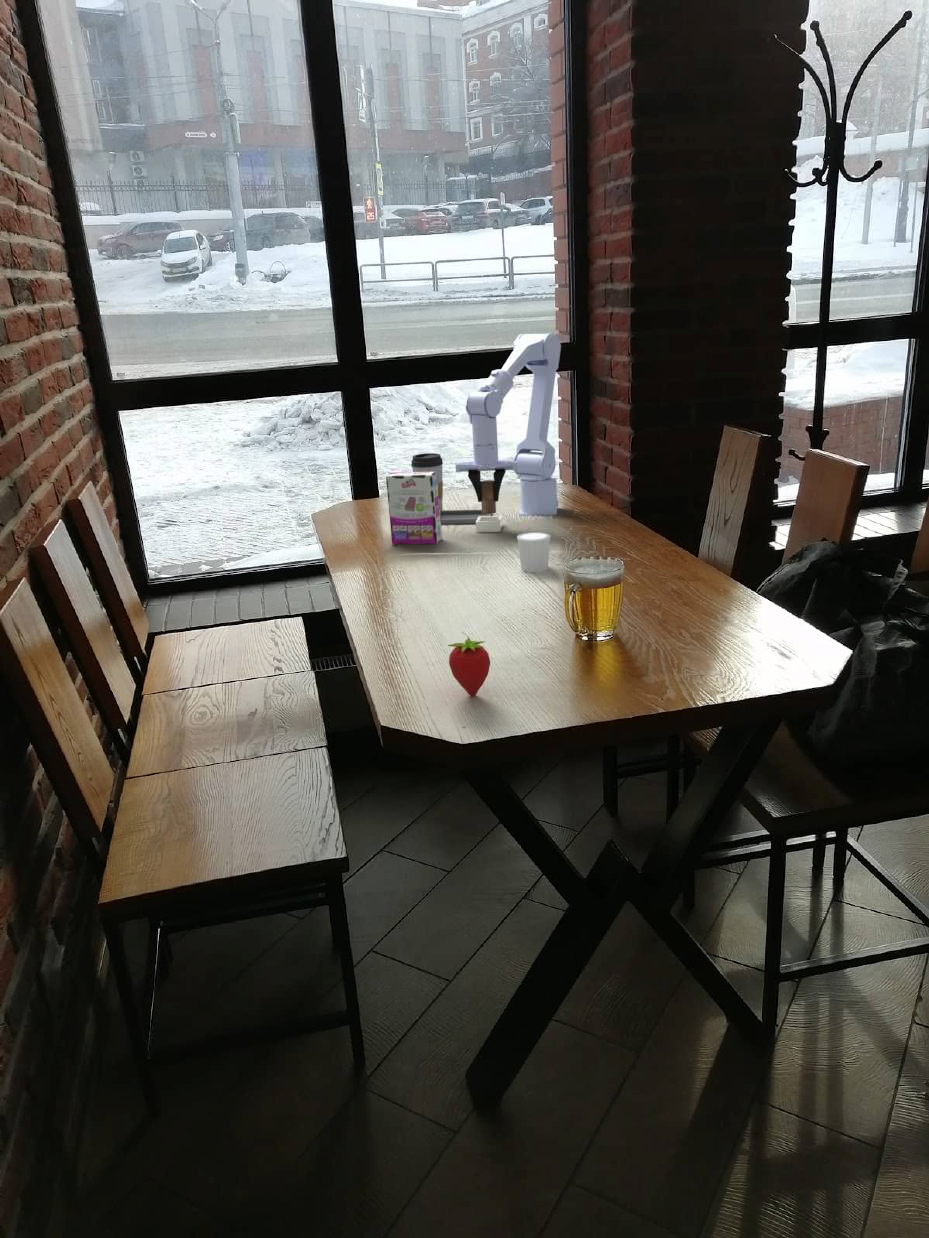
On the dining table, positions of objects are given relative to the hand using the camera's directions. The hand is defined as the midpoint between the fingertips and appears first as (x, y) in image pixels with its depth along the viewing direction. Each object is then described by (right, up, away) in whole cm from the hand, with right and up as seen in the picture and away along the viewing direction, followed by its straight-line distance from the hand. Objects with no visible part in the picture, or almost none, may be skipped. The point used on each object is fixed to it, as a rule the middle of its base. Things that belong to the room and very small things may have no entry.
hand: (488, 500), depth 223 cm
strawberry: (-5, -40, -87) cm, 96 cm away
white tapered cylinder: (+9, -18, -29) cm, 35 cm away
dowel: (0, -3, +1) cm, 3 cm away
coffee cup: (-15, 0, +24) cm, 28 cm away
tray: (-6, -3, +13) cm, 15 cm away
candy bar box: (-17, -11, -4) cm, 20 cm away
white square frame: (0, -7, +2) cm, 7 cm away
